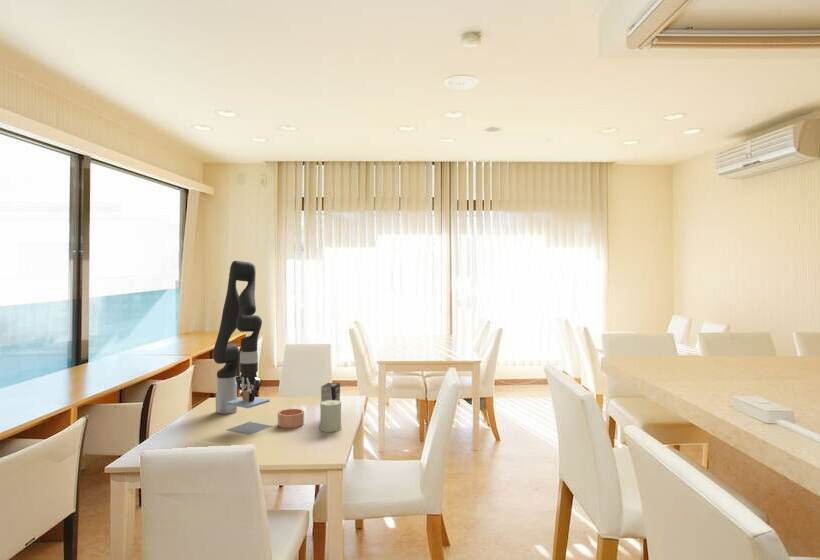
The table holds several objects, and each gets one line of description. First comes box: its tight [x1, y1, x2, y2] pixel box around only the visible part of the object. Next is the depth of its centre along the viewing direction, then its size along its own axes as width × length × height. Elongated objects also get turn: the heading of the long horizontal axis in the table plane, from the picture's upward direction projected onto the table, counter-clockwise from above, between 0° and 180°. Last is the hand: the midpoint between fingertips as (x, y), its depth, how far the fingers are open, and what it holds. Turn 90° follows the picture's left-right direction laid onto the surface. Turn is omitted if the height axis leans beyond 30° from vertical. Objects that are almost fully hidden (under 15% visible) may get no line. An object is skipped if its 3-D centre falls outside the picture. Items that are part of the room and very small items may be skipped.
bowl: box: [277, 408, 305, 429], centre depth 229 cm, size 11×11×6 cm
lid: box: [227, 388, 270, 409], centre depth 224 cm, size 12×12×6 cm
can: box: [319, 400, 342, 433], centre depth 224 cm, size 9×9×12 cm
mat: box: [226, 421, 273, 436], centre depth 224 cm, size 14×14×1 cm
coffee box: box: [320, 382, 341, 403], centre depth 239 cm, size 9×6×16 cm
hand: (248, 400), depth 224 cm, fingers closed on lid, 3 cm apart
